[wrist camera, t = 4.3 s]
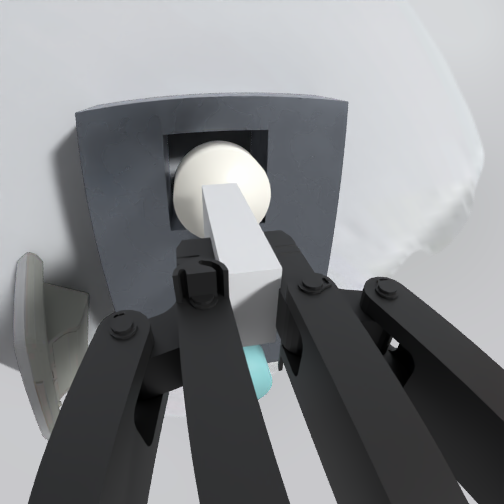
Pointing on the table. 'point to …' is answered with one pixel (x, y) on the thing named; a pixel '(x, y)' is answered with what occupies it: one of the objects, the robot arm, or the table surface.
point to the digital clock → (47, 338)
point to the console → (159, 182)
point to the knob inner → (217, 181)
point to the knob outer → (258, 369)
